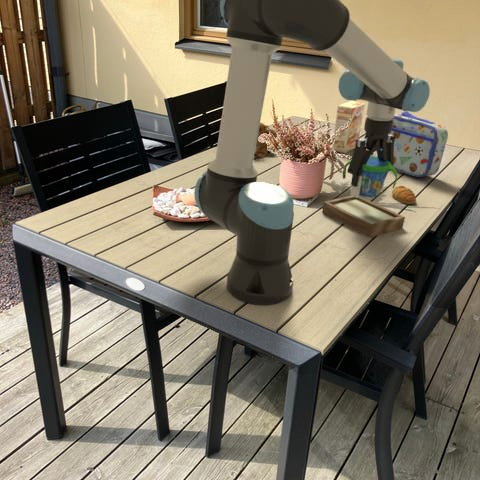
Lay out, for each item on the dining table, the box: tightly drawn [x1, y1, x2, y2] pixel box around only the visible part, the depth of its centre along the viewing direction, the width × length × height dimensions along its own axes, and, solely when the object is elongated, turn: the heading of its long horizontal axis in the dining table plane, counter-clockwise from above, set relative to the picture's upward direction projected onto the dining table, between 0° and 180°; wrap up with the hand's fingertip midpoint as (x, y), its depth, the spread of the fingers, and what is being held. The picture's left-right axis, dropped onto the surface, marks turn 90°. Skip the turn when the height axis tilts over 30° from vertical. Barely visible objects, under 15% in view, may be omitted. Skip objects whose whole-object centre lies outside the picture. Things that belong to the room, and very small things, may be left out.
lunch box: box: [376, 111, 449, 178], centre depth 193 cm, size 28×10×22 cm, turn 34°
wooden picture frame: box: [322, 195, 406, 238], centre depth 151 cm, size 14×20×4 cm
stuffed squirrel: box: [255, 122, 277, 158], centre depth 206 cm, size 10×14×13 cm
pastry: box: [391, 185, 417, 205], centre depth 168 cm, size 9×7×4 cm
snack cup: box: [342, 155, 398, 199], centre depth 146 cm, size 16×10×10 cm
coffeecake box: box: [331, 100, 366, 154], centre depth 218 cm, size 15×7×20 cm, turn 147°
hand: (366, 193), depth 148 cm, fingers closed on snack cup, 9 cm apart
